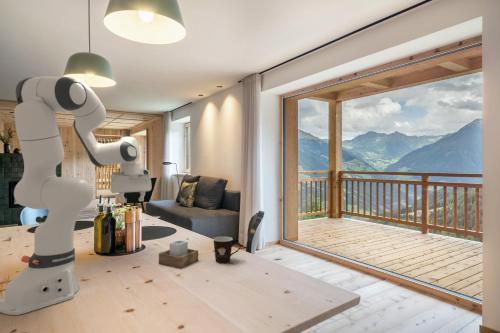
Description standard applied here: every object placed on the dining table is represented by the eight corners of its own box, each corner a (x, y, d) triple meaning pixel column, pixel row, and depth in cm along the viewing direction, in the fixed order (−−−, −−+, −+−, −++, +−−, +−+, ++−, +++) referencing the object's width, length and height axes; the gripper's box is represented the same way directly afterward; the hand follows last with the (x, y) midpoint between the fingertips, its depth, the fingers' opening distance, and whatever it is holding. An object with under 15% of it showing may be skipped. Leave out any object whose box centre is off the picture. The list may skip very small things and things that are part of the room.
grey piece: (178, 263, 132) (178, 244, 132) (169, 261, 134) (169, 243, 134) (187, 259, 137) (187, 241, 137) (178, 257, 140) (179, 240, 139)
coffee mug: (209, 262, 136) (209, 239, 136) (220, 257, 144) (220, 235, 144) (231, 266, 131) (232, 243, 130) (241, 261, 138) (242, 238, 138)
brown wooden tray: (180, 268, 128) (180, 257, 128) (158, 263, 133) (158, 253, 133) (198, 260, 138) (198, 250, 138) (177, 256, 144) (177, 246, 144)
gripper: (115, 170, 132) (117, 203, 131) (152, 171, 150) (154, 199, 148) (106, 172, 135) (108, 204, 134) (143, 173, 153) (145, 201, 151)
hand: (133, 202), depth 141 cm, fingers open, 8 cm apart
